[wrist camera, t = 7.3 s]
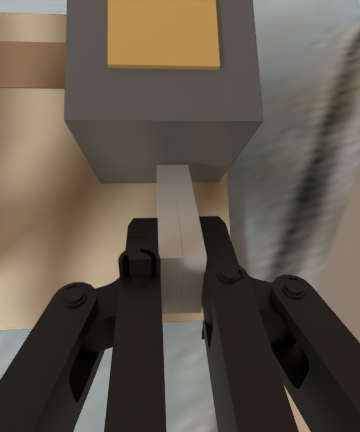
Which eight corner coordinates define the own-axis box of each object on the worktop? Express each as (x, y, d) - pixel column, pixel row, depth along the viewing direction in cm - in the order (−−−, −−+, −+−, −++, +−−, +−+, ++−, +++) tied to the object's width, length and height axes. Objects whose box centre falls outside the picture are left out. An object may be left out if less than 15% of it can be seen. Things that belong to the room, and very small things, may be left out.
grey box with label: (100, 183, 19) (62, 117, 11) (101, 89, 20) (66, -35, 12) (219, 182, 20) (264, 118, 12) (213, 90, 21) (252, -27, 13)
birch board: (-85, 330, 18) (-102, 335, 17) (-61, 24, 21) (-74, 8, 20) (229, 315, 20) (235, 319, 19) (215, 32, 23) (219, 18, 21)
